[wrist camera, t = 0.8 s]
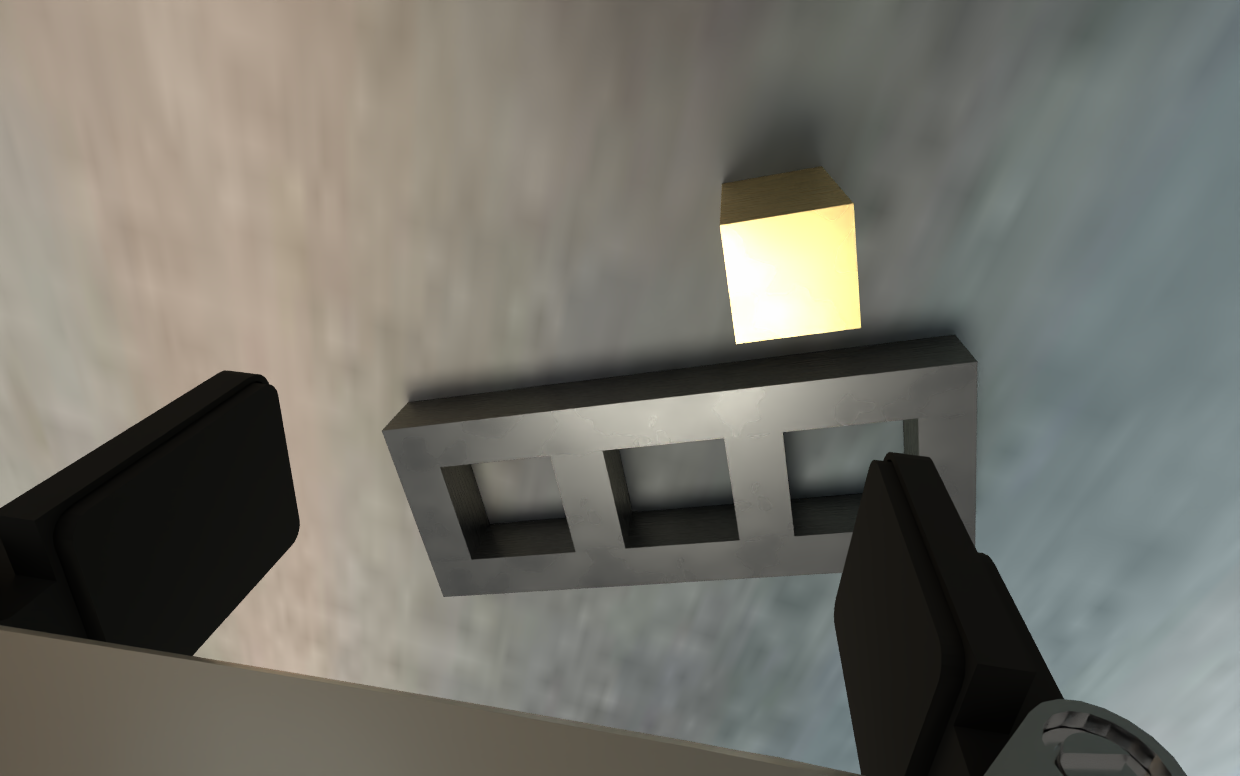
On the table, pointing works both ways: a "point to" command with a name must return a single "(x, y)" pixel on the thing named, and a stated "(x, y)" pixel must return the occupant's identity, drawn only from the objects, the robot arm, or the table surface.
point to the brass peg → (789, 255)
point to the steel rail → (663, 414)
